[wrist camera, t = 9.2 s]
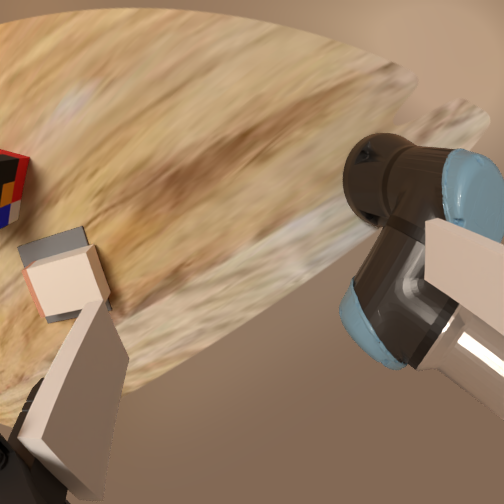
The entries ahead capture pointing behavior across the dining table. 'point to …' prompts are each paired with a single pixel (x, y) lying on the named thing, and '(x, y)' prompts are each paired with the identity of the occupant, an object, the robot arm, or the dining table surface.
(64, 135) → the dining table surface
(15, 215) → the puzzle toy
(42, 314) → the tall block
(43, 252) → the mat
